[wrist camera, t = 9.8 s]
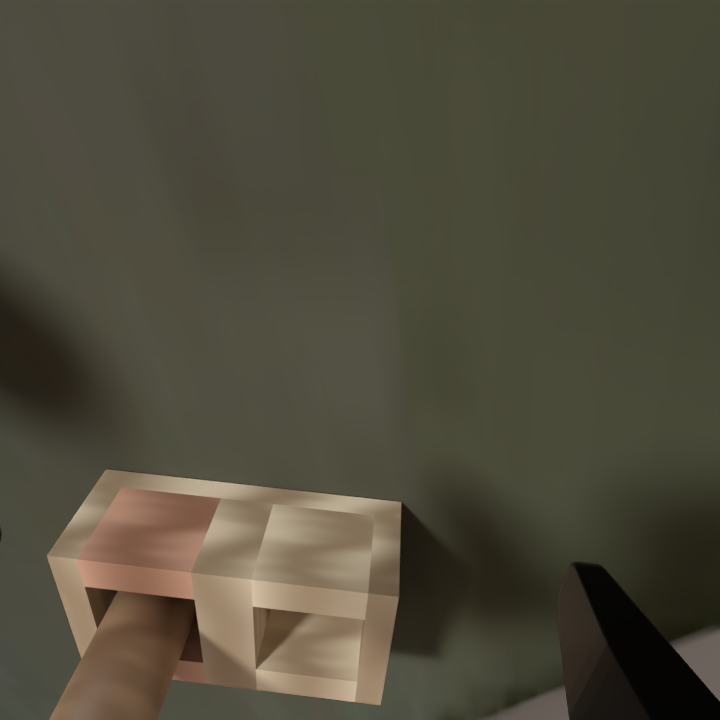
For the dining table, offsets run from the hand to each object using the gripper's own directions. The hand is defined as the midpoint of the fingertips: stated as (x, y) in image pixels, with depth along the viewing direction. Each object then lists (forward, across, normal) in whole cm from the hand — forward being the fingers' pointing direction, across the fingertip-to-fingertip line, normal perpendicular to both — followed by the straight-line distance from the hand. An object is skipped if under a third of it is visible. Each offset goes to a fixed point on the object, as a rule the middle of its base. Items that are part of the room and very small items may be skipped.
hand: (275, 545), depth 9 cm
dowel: (+12, +7, +16) cm, 21 cm away
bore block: (+13, +4, +16) cm, 21 cm away
